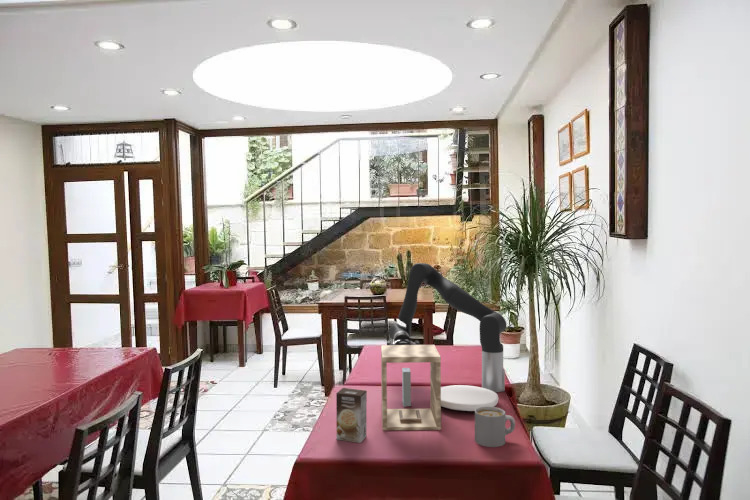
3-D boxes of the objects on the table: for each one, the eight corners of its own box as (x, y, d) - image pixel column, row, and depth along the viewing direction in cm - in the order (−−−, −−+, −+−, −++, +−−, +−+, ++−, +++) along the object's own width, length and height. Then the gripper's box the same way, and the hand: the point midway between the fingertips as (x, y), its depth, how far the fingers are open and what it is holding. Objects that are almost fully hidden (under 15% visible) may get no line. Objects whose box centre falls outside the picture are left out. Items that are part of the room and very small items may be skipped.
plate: (429, 382, 227) (491, 383, 227) (429, 398, 227) (491, 398, 226) (435, 396, 199) (505, 396, 199) (435, 413, 199) (506, 414, 198)
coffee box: (335, 439, 178) (334, 392, 178) (342, 432, 184) (342, 387, 184) (360, 443, 175) (360, 395, 174) (367, 436, 181) (367, 389, 181)
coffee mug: (476, 446, 172) (476, 416, 171) (473, 434, 182) (473, 406, 181) (518, 447, 170) (518, 417, 170) (513, 435, 180) (513, 407, 180)
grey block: (409, 401, 217) (409, 367, 216) (410, 406, 211) (410, 371, 210) (402, 401, 217) (402, 367, 216) (403, 406, 211) (403, 371, 210)
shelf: (434, 411, 205) (434, 344, 204) (440, 429, 186) (440, 356, 185) (381, 411, 205) (381, 345, 204) (382, 430, 186) (382, 357, 185)
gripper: (386, 332, 240) (387, 339, 224) (417, 332, 240) (421, 339, 224) (386, 348, 241) (387, 357, 224) (417, 348, 241) (420, 357, 224)
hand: (404, 348), depth 224 cm, fingers open, 8 cm apart
